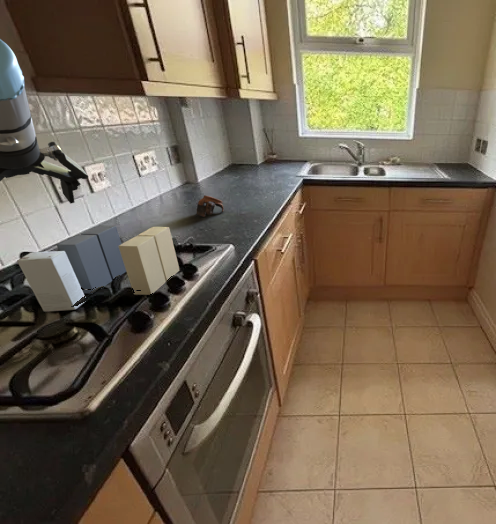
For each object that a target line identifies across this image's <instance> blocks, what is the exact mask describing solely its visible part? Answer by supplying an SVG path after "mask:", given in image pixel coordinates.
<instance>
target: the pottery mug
mask: <svg viewBox="0 0 496 524" xmlns="http://www.w3.org/2000/svg"><path fill="white" fill-rule="evenodd" d="M223 204H224V202H223V201H222V200H221V199H218V198H215V197H213V196H210V195H203V197H202V198H200V199H199V200H198V203H197V205H196V215H198V216H200V217H204V218H205V217H206V215H208V216H211V215H213V214H214V210H215V207H218V208H220V209H221V213H223V212H224V205H223Z"/></svg>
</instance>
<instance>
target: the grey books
mask: <svg viewBox="0 0 496 524" xmlns="http://www.w3.org/2000/svg"><path fill="white" fill-rule="evenodd" d="M121 244H123V242H122V241H121V237H120V233H119V231H118V227H117V225H100V224H99V225H98V226H94V227H93V228H90V229H88V230H86V231H84V232H81V233H80V234H76V235H74V236H73V237H70V238H67V239H65V240H63V241H60V242H58V243H56V248H57V251H65V253H66V255H67V257H68V260H69V262H70V264H71V266H72V269H73V271H74V273H75V275H76V278H77V280H78V282H79V284H80V287H82V288H84V289H91V290H82V291H83V293H84V294H91V293H90V292H91V291H93V290H94V289H96V288H98V287H101V286H104V287H106V286H107V285H109V284H110V283H112V282H113V281H114V280H113V279H114V278H115V277H116V276H118V275H120V276H122V275H123V274H125V273H127V271H126V268H125V265H124V262H123V259H122V256H121V253H120V250H119V247H118V246H119V245H121ZM95 287H96V288H95ZM93 288H94V289H93ZM92 289H93V290H92Z"/></svg>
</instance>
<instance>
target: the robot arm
mask: <svg viewBox="0 0 496 524" xmlns="http://www.w3.org/2000/svg"><path fill="white" fill-rule="evenodd" d="M25 84H26V83H25V76H24V75H23V71H22V69H21V67H20V65H19V62H18V59H17V57H16V55H15V52H14V51H13V50H12V49H11V47H10V46H9V45H8V44H7V43H6V42H5V41H3V40H2V39H1V38H0V182H2V181H3V179H10V178H14V177H17V176H25V175H30V173H34V174H36V175H40V176H44V175H45V176H48V177H51V178H55V179H58V180H60V181H59V182H60V186H61V191H62V194H63V196H64V197H65V199H66V200H67V201H68V202H69V204H75V203H76V202H75V196H74V192H75V191H78V189H79V186H81V183H80V181H79V180H86V179H88V178H89V175H88V174H87V172H86V171H85V170H84V168H83V167H82V166H81V165H79V164H78V163H77V162H76V161H75V160H74V159H73V158H71V157H69V156H68V155H67V154H66V153H64V151H63V150H62V149H61V147H60V146H59V144H57V142H56V141H50V142H48V143H47V147H42V148H40V146H39V143H38V138H37V135H36V130H35V126H34V122H33V118H32V114H31V109H30V104H29V99H28V95H27V91H26V86H25ZM46 157H48V158H50V159H52V160H53V161H55V162H57V161H58V162H59V164H61V165H62V166H60V165H57V164H54V163H52V162H49V161H47V160H45V159H46Z"/></svg>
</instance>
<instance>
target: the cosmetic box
mask: <svg viewBox="0 0 496 524" xmlns="http://www.w3.org/2000/svg"><path fill="white" fill-rule="evenodd" d="M16 260H17V261H16V262H17V264H18V266H19V268H20V269H21V271H22V273H23V275H24V277H25V279H26V282H27V283H28V286H29V287H30V288H31V290H32V293H33V294H34V296H35V298H36V300H37V302H38V304H39V305H40V307H41V309H42V311H43V313H44V312H45V313H46V312H60V311H73V310H77V309H78V308H80V307H81V306H82V305H83V304H85V302H83V303H81V304H79V305H78V306H74V307H71V306H73V305H74V304H75V303H76V302H77V301H79V300H80V299H81V298H82V297H84V296H85V293H83V291H82V289H81V287H80V284H79V282H78V280H77V278H76V275H75V273H74V271H73V269H72V266H71V264H70V262H69V260H68V257H67V255H66V253H65V251H59V250H55V251H54V250H53V251H52V250H51V251H32V252H29V253H28V254H26V255H24V256H22V257H20V258H19V259H16Z"/></svg>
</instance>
